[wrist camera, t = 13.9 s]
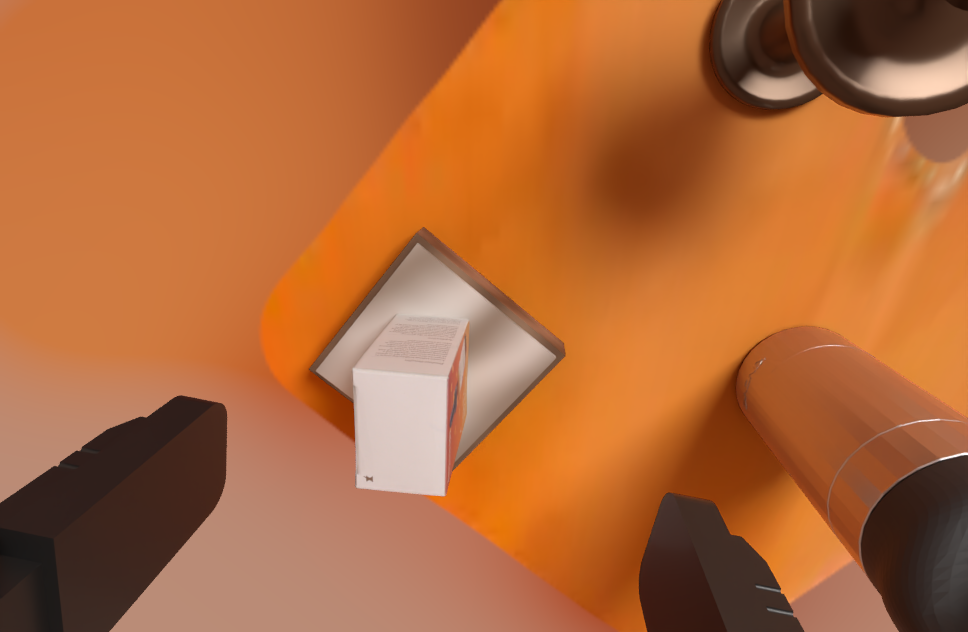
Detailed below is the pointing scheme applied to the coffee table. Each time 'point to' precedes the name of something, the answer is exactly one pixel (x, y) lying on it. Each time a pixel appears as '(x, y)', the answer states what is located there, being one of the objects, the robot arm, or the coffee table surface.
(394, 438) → the small box
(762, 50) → the candlestick
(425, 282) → the tray
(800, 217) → the coffee table surface
